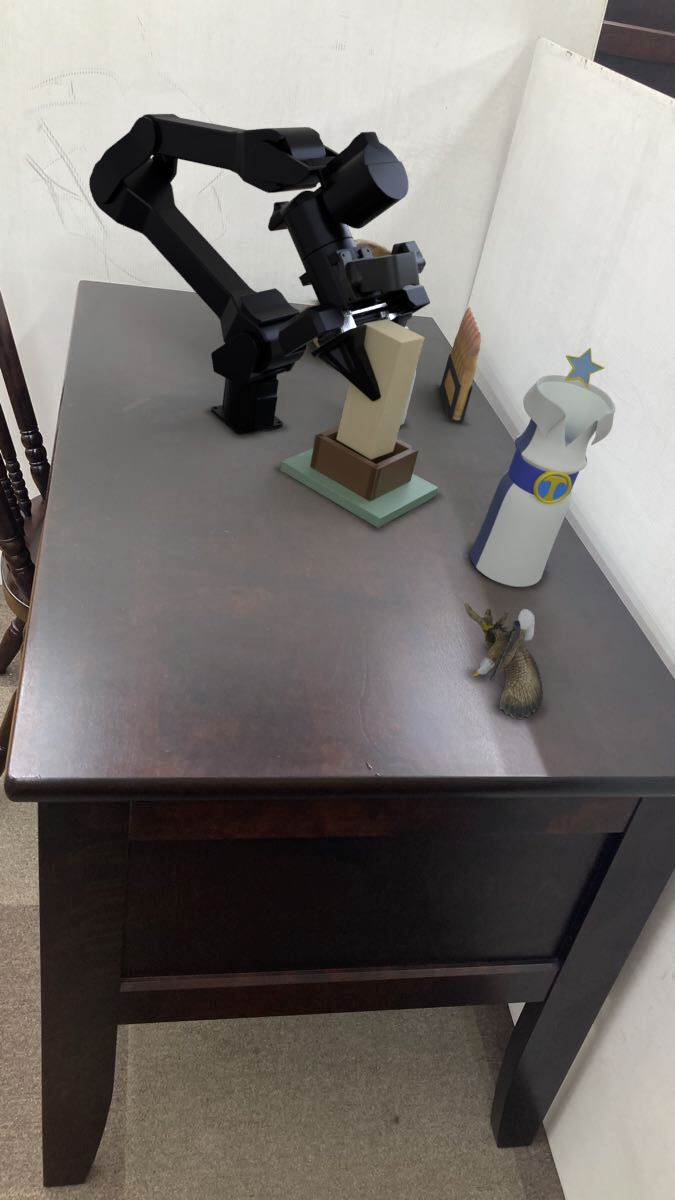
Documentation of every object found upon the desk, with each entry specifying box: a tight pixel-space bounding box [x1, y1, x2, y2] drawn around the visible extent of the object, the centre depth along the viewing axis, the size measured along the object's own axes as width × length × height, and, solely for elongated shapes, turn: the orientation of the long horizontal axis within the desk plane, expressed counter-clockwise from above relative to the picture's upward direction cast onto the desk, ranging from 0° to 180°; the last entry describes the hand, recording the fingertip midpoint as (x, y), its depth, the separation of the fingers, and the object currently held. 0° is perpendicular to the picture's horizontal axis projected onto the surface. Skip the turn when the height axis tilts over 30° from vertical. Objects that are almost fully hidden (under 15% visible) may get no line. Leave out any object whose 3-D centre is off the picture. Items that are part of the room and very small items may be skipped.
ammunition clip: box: [439, 306, 482, 424], centre depth 118 cm, size 11×2×12 cm, turn 1°
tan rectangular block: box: [337, 319, 426, 459], centre depth 93 cm, size 5×4×13 cm
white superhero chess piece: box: [469, 347, 616, 588], centre depth 84 cm, size 8×9×25 cm
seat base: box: [279, 424, 439, 529], centre depth 98 cm, size 14×11×5 cm
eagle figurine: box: [464, 602, 544, 720], centre depth 76 cm, size 8×7×9 cm
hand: (389, 395), depth 93 cm, fingers closed on tan rectangular block, 4 cm apart
